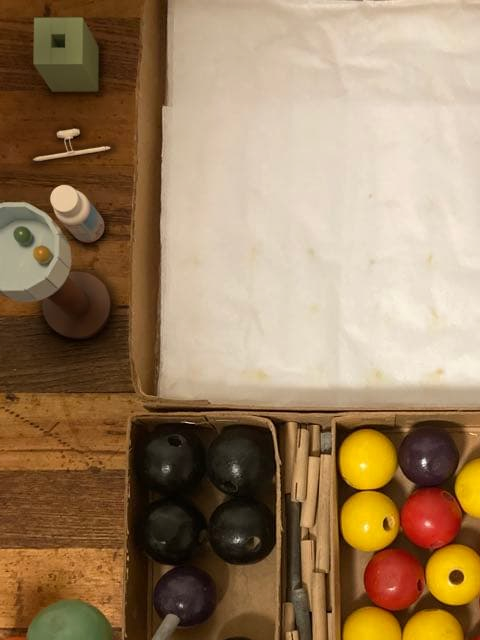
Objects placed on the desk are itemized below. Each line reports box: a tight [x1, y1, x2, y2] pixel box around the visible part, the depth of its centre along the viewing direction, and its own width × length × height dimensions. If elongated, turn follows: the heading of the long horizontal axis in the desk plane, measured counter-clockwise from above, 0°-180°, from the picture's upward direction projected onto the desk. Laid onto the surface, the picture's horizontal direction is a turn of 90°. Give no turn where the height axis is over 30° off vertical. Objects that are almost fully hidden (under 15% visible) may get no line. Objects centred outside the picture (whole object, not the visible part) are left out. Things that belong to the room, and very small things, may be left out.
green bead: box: [13, 226, 32, 244], centre depth 128 cm, size 3×3×3 cm
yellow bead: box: [33, 245, 52, 264], centre depth 127 cm, size 3×3×3 cm
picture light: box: [32, 128, 111, 162], centre depth 151 cm, size 14×4×2 cm, turn 100°
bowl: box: [0, 201, 72, 303], centre depth 127 cm, size 13×13×5 cm
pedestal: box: [41, 270, 113, 340], centre depth 140 cm, size 12×12×21 cm
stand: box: [32, 17, 100, 93], centre depth 149 cm, size 8×8×8 cm
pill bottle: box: [49, 184, 105, 243], centre depth 146 cm, size 6×6×11 cm
